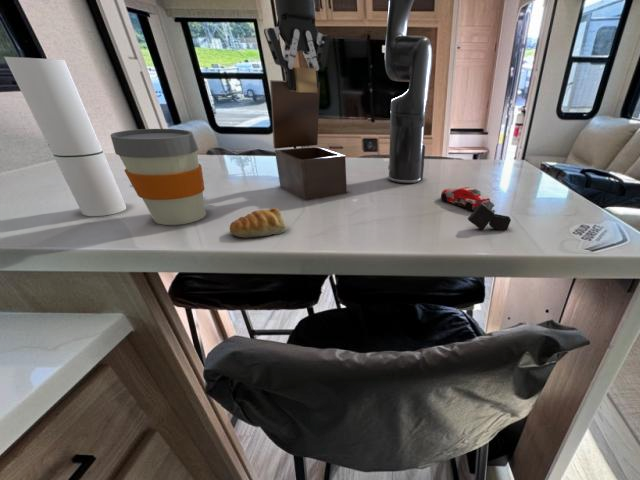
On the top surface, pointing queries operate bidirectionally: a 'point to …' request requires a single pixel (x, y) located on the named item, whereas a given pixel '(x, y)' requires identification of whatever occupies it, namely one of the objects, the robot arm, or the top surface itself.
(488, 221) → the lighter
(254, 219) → the pastry
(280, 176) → the chest
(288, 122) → the lid
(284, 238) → the top surface
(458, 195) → the race car
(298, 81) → the block
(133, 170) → the reusable coffee cup
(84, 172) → the cylindrical container
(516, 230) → the top surface
